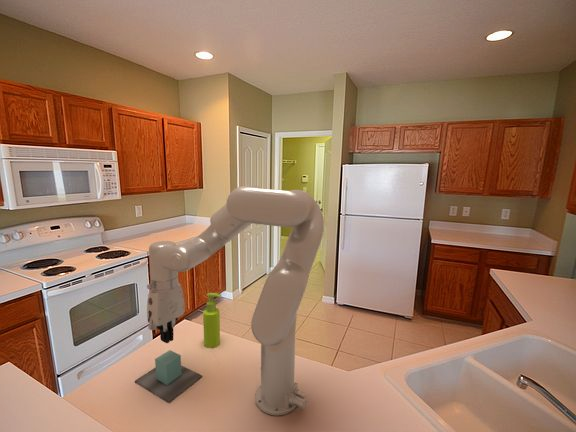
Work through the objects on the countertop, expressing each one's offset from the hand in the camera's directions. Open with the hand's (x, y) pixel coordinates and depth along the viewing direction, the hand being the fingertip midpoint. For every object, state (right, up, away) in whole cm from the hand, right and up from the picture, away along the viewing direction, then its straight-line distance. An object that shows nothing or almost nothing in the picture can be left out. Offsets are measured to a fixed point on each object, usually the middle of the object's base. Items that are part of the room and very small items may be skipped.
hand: (167, 340), depth 83 cm
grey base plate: (0, -13, +2) cm, 13 cm away
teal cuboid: (0, -12, +2) cm, 12 cm away
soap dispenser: (+8, -11, +21) cm, 25 cm away
